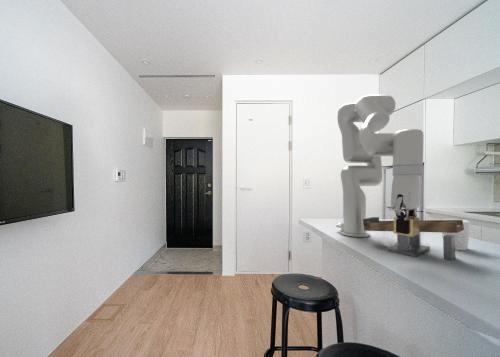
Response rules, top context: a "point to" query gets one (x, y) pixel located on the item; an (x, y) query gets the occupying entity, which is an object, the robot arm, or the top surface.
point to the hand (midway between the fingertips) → (406, 231)
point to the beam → (424, 225)
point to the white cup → (460, 236)
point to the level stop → (449, 247)
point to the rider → (410, 226)
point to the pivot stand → (409, 245)
